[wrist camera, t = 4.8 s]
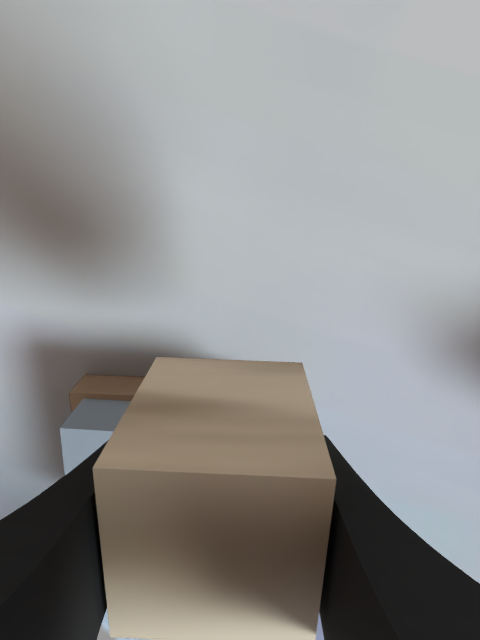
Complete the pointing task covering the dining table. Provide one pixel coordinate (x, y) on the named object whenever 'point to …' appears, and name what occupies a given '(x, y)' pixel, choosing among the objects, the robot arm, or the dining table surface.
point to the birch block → (216, 504)
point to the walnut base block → (104, 388)
